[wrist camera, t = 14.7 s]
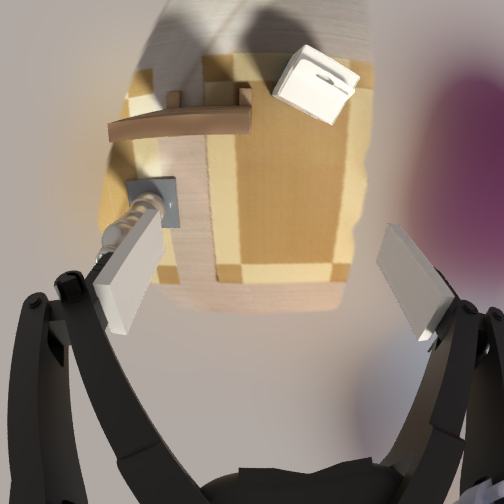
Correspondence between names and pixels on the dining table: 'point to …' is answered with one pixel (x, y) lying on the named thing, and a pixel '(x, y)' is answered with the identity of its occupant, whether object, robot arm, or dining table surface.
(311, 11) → the dining table surface
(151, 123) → the screen
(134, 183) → the coaster
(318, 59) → the ink box
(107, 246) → the plastic bottle
